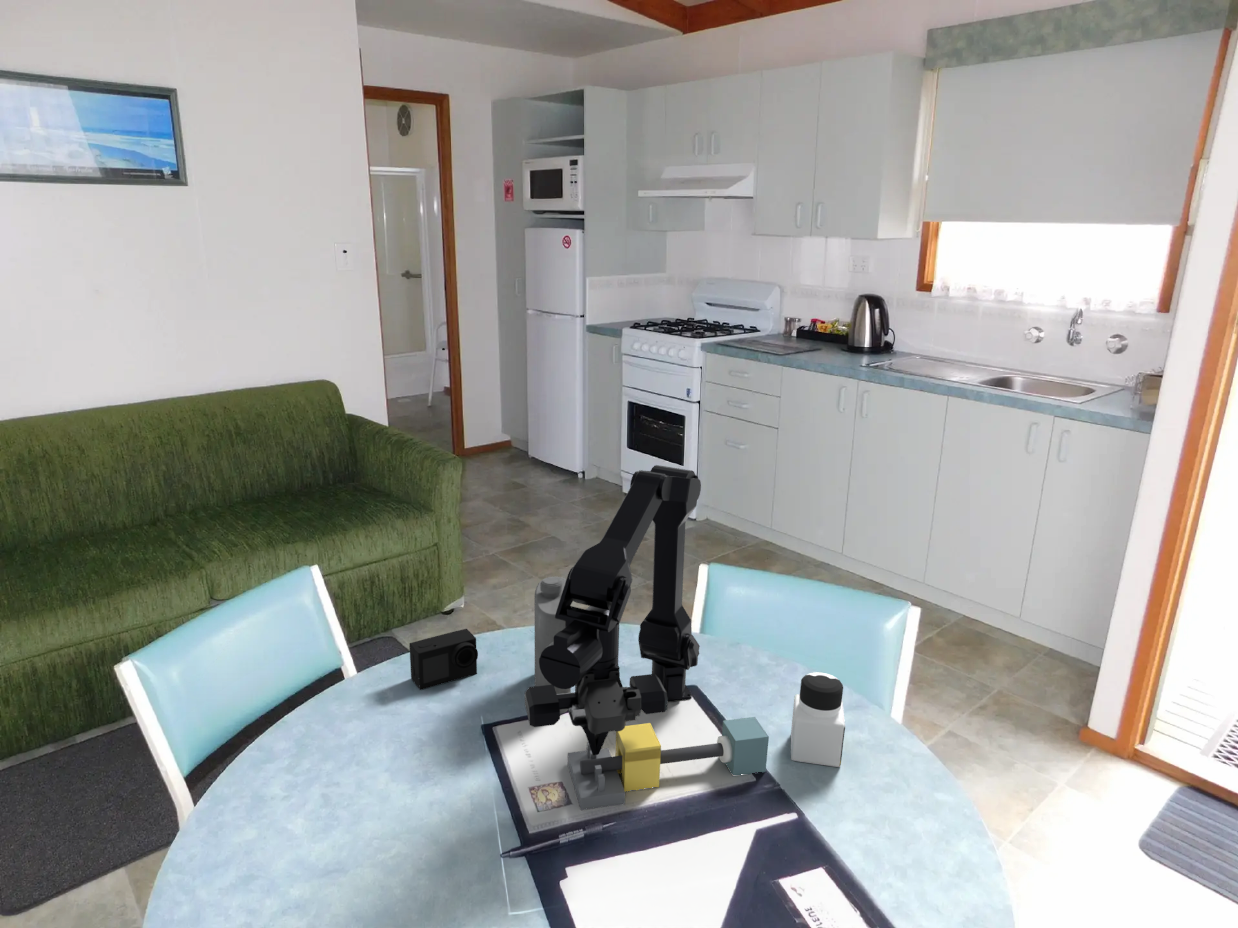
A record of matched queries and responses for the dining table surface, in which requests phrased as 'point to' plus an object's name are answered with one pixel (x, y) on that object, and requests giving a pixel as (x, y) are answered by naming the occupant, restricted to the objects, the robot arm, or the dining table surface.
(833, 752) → the medicine bottle
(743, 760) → the dark grey rod
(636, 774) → the sleeve
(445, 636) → the digital camera
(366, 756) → the dining table surface
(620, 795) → the grey pronged block
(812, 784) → the dining table surface
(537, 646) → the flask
